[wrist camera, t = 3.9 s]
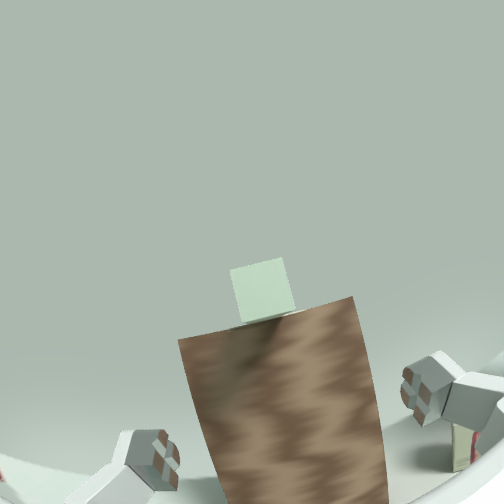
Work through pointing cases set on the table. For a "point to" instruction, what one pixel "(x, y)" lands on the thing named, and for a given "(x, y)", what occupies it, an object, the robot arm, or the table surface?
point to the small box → (463, 447)
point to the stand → (290, 409)
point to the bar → (262, 291)
